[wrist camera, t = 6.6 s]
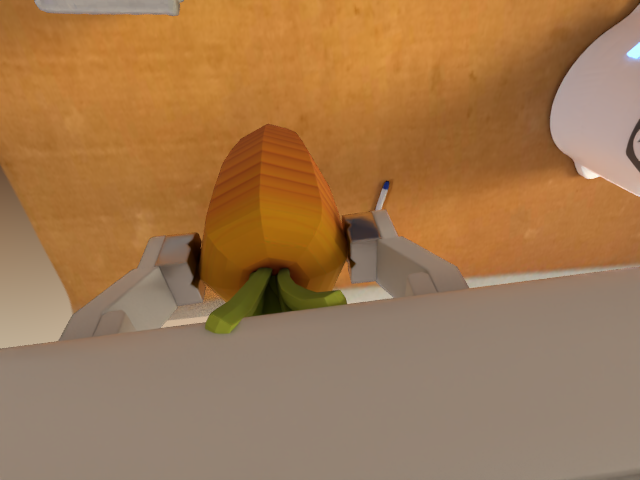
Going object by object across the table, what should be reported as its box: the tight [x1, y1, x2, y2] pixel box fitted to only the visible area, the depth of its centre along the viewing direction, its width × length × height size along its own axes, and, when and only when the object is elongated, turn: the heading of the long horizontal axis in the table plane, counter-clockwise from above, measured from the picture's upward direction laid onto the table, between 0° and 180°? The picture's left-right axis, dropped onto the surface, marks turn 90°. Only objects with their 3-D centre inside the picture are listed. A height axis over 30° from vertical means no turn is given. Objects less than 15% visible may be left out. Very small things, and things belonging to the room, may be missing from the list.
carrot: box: [199, 124, 348, 334], centre depth 14 cm, size 5×5×15 cm
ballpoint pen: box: [375, 181, 389, 210], centre depth 43 cm, size 10×1×1 cm, turn 171°
